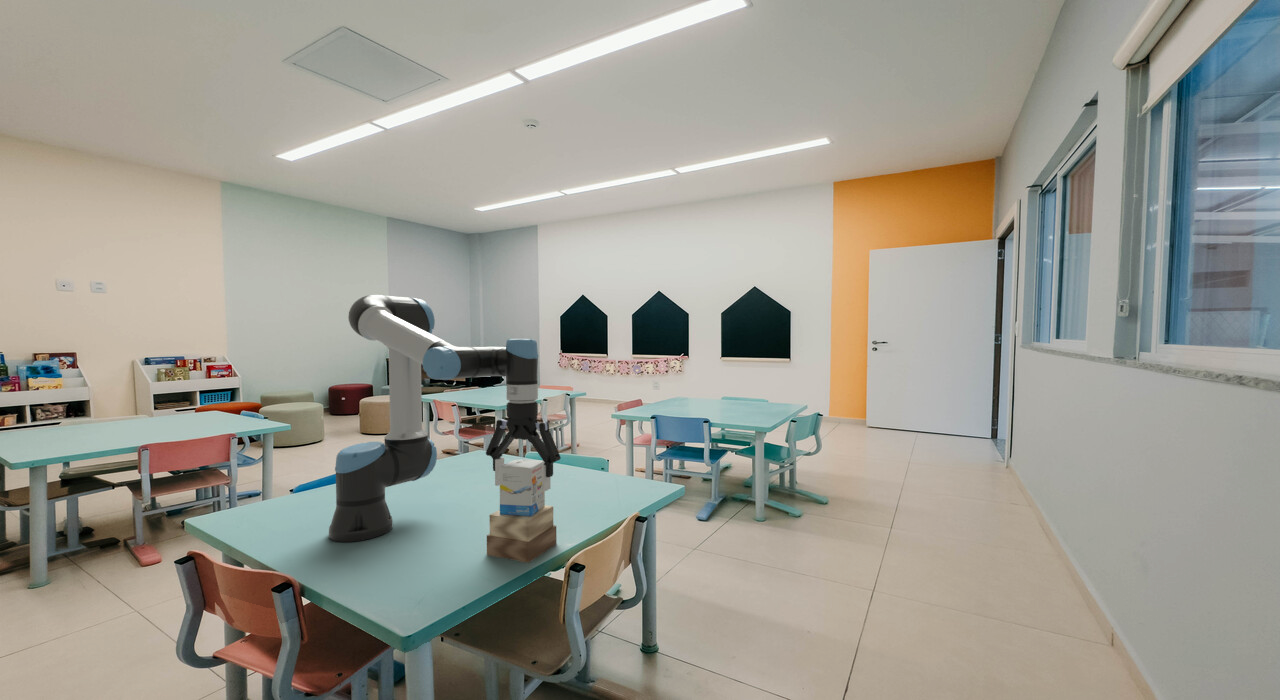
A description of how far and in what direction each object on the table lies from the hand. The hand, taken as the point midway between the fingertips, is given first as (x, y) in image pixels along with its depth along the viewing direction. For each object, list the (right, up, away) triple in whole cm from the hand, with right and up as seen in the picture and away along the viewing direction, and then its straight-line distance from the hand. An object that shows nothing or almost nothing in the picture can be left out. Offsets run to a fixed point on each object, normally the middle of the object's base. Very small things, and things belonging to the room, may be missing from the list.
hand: (522, 487), depth 126 cm
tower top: (0, -11, 0) cm, 11 cm away
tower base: (0, -16, 0) cm, 16 cm away
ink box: (0, -6, 0) cm, 6 cm away
